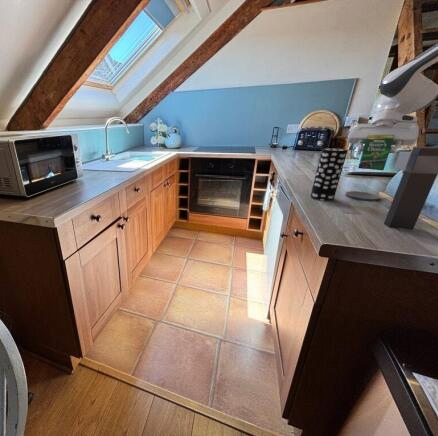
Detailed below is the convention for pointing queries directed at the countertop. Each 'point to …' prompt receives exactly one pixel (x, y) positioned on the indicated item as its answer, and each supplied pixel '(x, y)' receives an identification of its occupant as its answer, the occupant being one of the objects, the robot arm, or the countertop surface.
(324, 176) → the spotted tube
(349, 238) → the countertop surface
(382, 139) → the coffee box
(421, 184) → the tall grey box
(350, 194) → the coaster
